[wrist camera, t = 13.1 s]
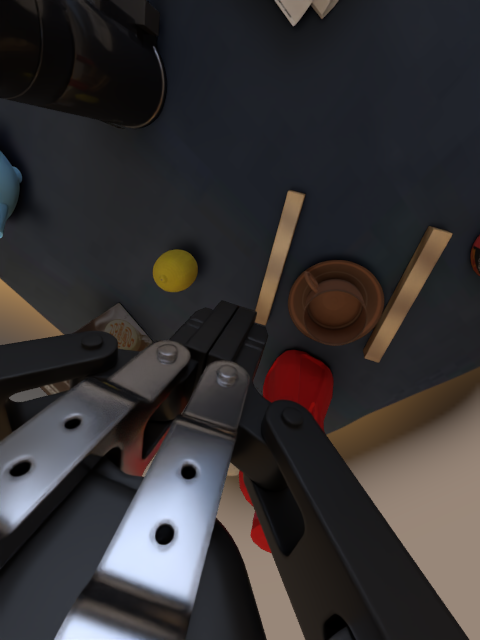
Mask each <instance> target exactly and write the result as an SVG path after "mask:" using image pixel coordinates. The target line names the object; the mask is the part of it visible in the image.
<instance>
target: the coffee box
mask: <svg viewBox="0 0 480 640" xmlns="http://www.w3.org/2000/svg"><path fill="white" fill-rule="evenodd" d="M85 331H103V332H107V333H110V334H111V335H113V336H114V337H115V338H116V339H117V341H118V349H124V350H133V351H142V350H143V349H145V348H146V347H147V346H148V345H150V344H151V343H152V340H151V339H150V338H149V337H148V336H147V334H146V333H145V332H144V331H143V330H142V329H141V327H140V326H139V325H138V324H137V323H136V322H135V320H134V319H133V318H132V317H131V316H130V315H129V314H128V312H127V311H126V310H125V309H124V308H123V307H122V305H121V304H120V303H118V304H116V305H115V306H113V307H112V308H110V309H109V310H107V311H106V312H104V313H103V314H101V315H100V316H98V317H97V318H95V319H94V320H92V321H91V322H89V323H87V324H86V325H84V326H83V327H81V328H80V329H78V330H77V331H75V332H74V333H79V332H85ZM72 334H73V333H72ZM40 388H41V389H42V390H43V391H44V392H45V393H46V394H47V395H52V394H55V393H59V392H63V391H67V390H70V385H69V380H67V381H63V382H59V383H54V384H50V385H46V386H42V387H40Z"/></svg>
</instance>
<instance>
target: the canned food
mask: <svg viewBox="0 0 480 640" xmlns="http://www.w3.org/2000/svg"><path fill="white" fill-rule="evenodd" d="M470 256H471V264H472V267H473V269H474V271H475V272H476V273H477V275H479V276H480V235H479V236H478V237H477V239H476V240H475V242H474V244H473V246H472V249H471V255H470Z"/></svg>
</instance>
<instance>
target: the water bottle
mask: <svg viewBox="0 0 480 640" xmlns="http://www.w3.org/2000/svg"><path fill="white" fill-rule="evenodd" d="M332 393H333V377H332V373H331V371H330V369H329V368H328V367H327V366H326V365H325V364H324V363H323V362H322V361H321V360H318V359H316V358H314V357H312V356H310V355H309V354H307V353H306V352H302V351H298V350H288V351H285V352H284V353H283V354H282V355H280V356H279V357H278V358H277V359H276V361H275V362H274V364H273V365H272V367H271V368H270V370H269V371H268V374H267V376H266V379H265V382H264V386H263V397H264V398H265V399H267V400H268V401H270V402H271V403H272V402H274V401H277V400H290V401H294V402H296V403H298V404H300V405H302V406H303V407H305V408H306V409H307V410H308V411H309V412H310V413H311V414H312V416H313V417H314V419H315V420H316V421H317V423H318V424H319V426H320V427H321V428H322V430H323V431H324V425H323V421H324V418H325V415H326V413H327V410H328V407H329V404H330V401H331V399H332ZM324 433H325V432H324ZM239 483H240V489H241V491H242V492H243V495H244V496H245V498H246V500H247V501H248V502H249V503H250V504H251V505H252V506H253V504H252V502H251V499H250V497H249V494H248V491H247V489H246V486H245V484H244V480H243V472H242V471H239ZM251 538H252V540H253V542H254V543H255V544H257V545H258V546H259V547H260V548H261V549H263V550H265V551H267V552H270V553H271V550H270V548H269V545H268V543H267V540H266V537H265V535H264V532H263V530H262V527H261V525H260V522H259V520H258V517H257V514H256V512H255V514H254V518H253V526H252V530H251Z"/></svg>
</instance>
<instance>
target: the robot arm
mask: <svg viewBox="0 0 480 640" xmlns="http://www.w3.org/2000/svg"><path fill="white" fill-rule="evenodd" d="M159 16H160V13H159V12H158V11H157V10H156V9H155V8H154V7H153V6H152V5H151V4H149V3H148V2H147V1H146V0H0V98H2V99H7V100H11V101H16V102H20V103H25V104H29V105H34V106H38V107H43V108H47V109H52V110H56V111H61V112H65V113H70V114H74V115H79V116H83V117H88V118H92V119H97V120H100V121H102V122H105V123H107V124H110V125H112V126H115V127H117V128H121V127H119V126H116V125H114V124H111V123H115V124H118V125H122V126H125V127H129V128H143V127H145V126H147V125H149V124H151V123H152V122H153V121H154V120H155V119H156V118H157V116H158V115H159V113H160V112H161V109H162V107H163V104H164V101H165V96H166V85H167V84H166V73H165V68H164V64H163V61H162V59H161V56H160V54H159V52H158V50H157V46H156V41H157V38H156V36H158V35H159ZM109 122H110V123H109ZM122 129H124V128H122ZM256 316H257V312H256V311H253V310H250V309H247V308H244V307H241V306H240V307H239V306H238V305H235V304H232V303H229V302H226V301H223V300H222V301H221V302H220V303H219V304H218V305H217V306H216V308H215V309H214V310H212V309H209V308H203V309H201V310H198V311H196V312H195V313H194V314H193V315H192V316H191V317H190V319H188V320H187V321H186V322H185V324H183V325H182V326H181V327H180V329H179V330H178V331H177V332H176V333H175V334H174V335H173V336H172V337H171V338H170V339H169V340H162V341H156V342H153V343H151V344H150V345H148V346H147V347H146V348H145V349H143V350H142V351H133V350H124V349H118V341H117V339H116V338H115V337H114V336H113V335H111V334H110V333H107V332H103V331H85V332H79V333H73V334H67V335H61V336H55V337H48V338H42V339H36V340H30V341H24V342H18V343H12V344H5V345H0V640H267V639H266V635H265V632H264V629H263V625H262V622H261V618H260V615H259V611H258V608H257V605H256V601H255V598H254V594H253V591H252V587H251V584H250V580H249V577H248V574H247V570H246V568H245V564H244V562H243V559H242V557H241V554H240V552H239V550H238V547H237V546H236V544H235V542H234V540H233V538H232V537H231V535H230V534H229V532H228V531H227V530H226V528H225V527H224V526H223V525H222V523H221V522H220V521H219V520H218V519H217V518H216V515H217V511H218V507H219V503H220V499H221V495H222V492H223V488H224V483H225V480H226V476H227V472H228V468H229V464H230V462H231V463H232V464H233V465H234V466H236V467H237V468H238V469H239V470H240V471H242V472H243V480H244V484H245V486H246V489H247V491H248V494H249V497H250V499H251V502H252V504H253V507H254V509H255V512H256V514H257V517H258V520H259V522H260V525H261V527H262V530H263V532H264V535H265V537H266V540H267V543H268V545H269V548H270V550H271V553H272V555H273V558H274V561H275V563H276V566H277V568H278V571H279V573H280V576H281V578H282V581H283V583H284V586H285V588H286V591H287V594H288V596H289V598H290V601H291V604H292V607H293V609H294V612H295V614H296V617H297V619H298V622H299V624H300V627H301V629H302V632H303V635H304V637H305V640H469V639H468V637H467V636H466V634H465V633H464V631H463V630H462V628H461V627H460V626H459V624H458V623H457V621H456V620H455V618H454V617H453V616H452V614H451V613H450V611H449V610H448V608H447V607H446V606H445V604H444V603H443V601H442V600H441V598H440V597H439V596H438V595H437V593H436V591H435V590H434V588H433V587H432V586H431V584H430V583H429V582H428V580H427V579H426V577H425V576H424V574H423V573H422V571H421V570H420V569H419V567H418V566H417V564H416V563H415V562H414V560H413V558H412V557H411V556H410V554H409V553H408V552H407V550H406V548H405V547H404V546H403V544H402V543H401V541H400V540H399V539H398V537H397V536H396V534H395V533H394V531H393V530H392V529H391V527H390V526H389V524H388V523H387V521H386V520H385V518H384V517H383V516H382V514H381V513H380V511H379V510H378V508H377V507H376V506H375V505H374V503H373V501H372V500H371V498H370V497H369V496H368V494H367V493H366V491H365V490H364V488H363V487H362V486H361V484H360V483H359V482H358V480H357V479H356V477H355V476H354V474H353V473H352V471H351V470H350V468H349V467H348V466H347V464H346V463H345V461H344V460H343V458H342V457H341V456H340V454H339V453H338V451H337V450H336V448H335V447H334V446H333V444H332V443H331V441H330V440H329V439H328V437H327V436H326V434H325V433H324V431H323V430H322V428H321V427H320V426H319V424H318V423H317V421H316V420H315V419H314V417H313V416H312V414H311V413H310V412H309V411H308V410H307V409H306V408H305V407H303V406H302V405H300V404H298V403H296V402H294V401H290V400H277V401H274V402H272V403H271V402H270V401H268V400H267V399H265V398H264V397H263V396H261V395H260V394H259V392H258V391H257V390H256V388H255V387H254V384H253V379H254V377H255V374H256V371H257V369H258V366H259V363H260V360H261V357H262V354H263V350H264V347H265V344H266V341H267V338H268V334H267V330H266V327H263V326H260V325H257V324H254V323H255V320H256ZM67 380H69V385H70V390H67V391H63V392H59V393H55V394H52V395H48V396H44V397H40V398H36V399H33V400H29V401H25V402H14V401H12V400H10V399H9V397H10V396H11V395H13V394H15V393H18V392H21V391H25V390H30V389H33V388H38V387H42V386H46V385H50V384H54V383H59V382H63V381H67ZM186 405H187V406H186ZM185 407H186V408H185ZM184 408H185V410H184ZM183 410H184V412H183V414H182V415H181V413H182V411H183ZM155 454H156V455H155ZM154 456H155V457H154ZM153 457H154V459H153ZM152 459H153V461H152V463H151V465H150V467H149V469H148V471H147V473H146V475H145V477H142V475H143V473H144V470H145V469H146V467H147V466H148V464H149V463H150V461H151V460H152Z"/></svg>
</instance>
